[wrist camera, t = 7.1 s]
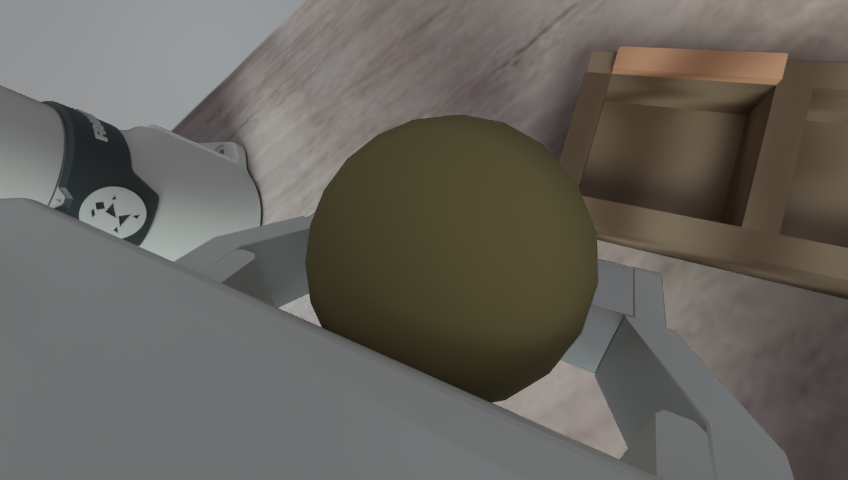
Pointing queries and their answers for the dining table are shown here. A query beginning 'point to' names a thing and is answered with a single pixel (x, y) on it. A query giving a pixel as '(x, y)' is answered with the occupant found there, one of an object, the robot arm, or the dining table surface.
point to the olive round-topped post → (455, 254)
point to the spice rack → (718, 160)
